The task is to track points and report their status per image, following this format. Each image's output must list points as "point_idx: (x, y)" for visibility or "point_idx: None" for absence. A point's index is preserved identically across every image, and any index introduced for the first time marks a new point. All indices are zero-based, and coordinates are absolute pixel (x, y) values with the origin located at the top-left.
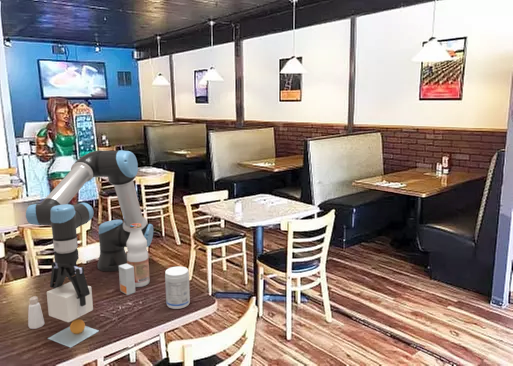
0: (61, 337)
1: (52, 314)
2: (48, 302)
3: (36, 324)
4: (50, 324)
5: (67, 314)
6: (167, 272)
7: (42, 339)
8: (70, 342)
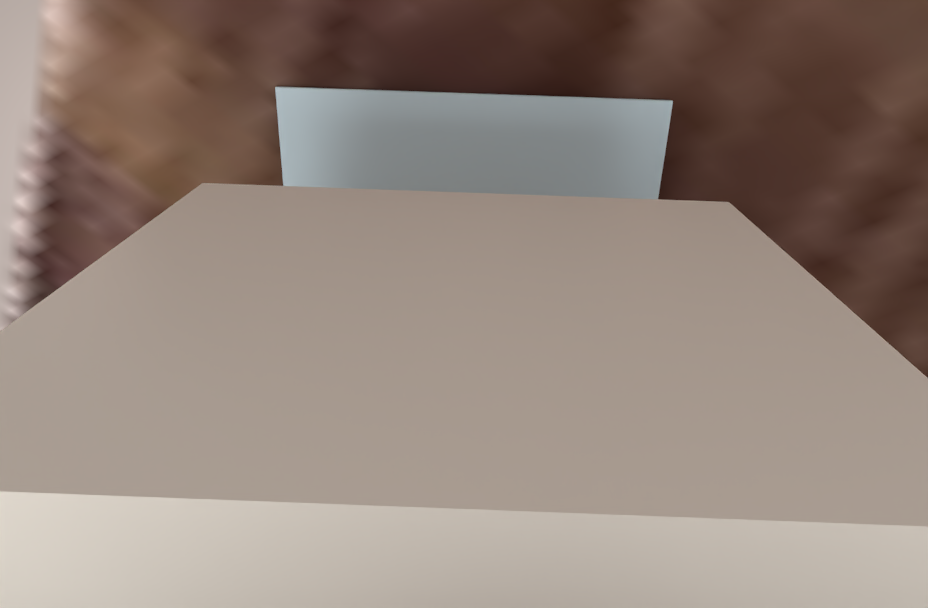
0: (535, 180)
1: (630, 212)
2: (815, 313)
3: None
4: (871, 313)
5: (145, 231)
6: None
7: (718, 61)
8: (359, 152)
